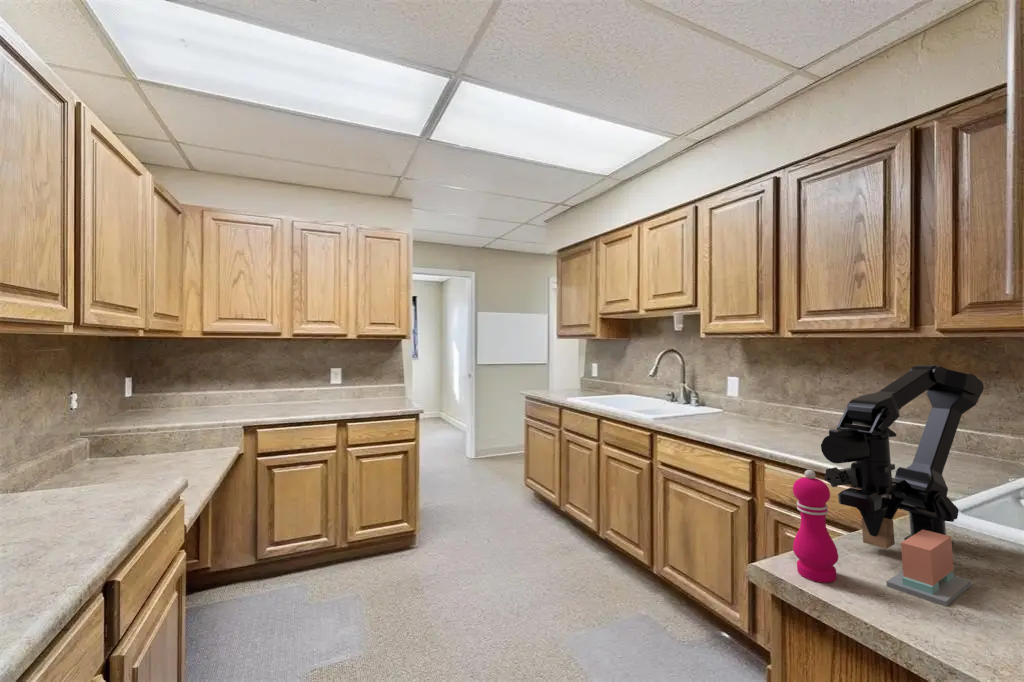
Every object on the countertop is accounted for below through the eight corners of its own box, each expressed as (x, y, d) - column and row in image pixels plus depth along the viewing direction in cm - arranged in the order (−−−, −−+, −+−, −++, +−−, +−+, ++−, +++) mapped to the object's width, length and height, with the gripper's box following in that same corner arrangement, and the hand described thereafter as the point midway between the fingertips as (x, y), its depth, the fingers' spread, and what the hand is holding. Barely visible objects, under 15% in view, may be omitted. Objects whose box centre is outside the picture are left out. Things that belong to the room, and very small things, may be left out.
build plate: (913, 567, 86) (912, 557, 86) (971, 585, 79) (970, 573, 79) (886, 586, 80) (886, 574, 80) (946, 606, 73) (945, 594, 73)
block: (871, 537, 96) (870, 514, 96) (894, 544, 93) (893, 519, 93) (863, 542, 94) (861, 518, 94) (886, 549, 91) (884, 524, 91)
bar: (925, 561, 84) (922, 529, 85) (953, 569, 81) (951, 536, 81) (903, 576, 79) (900, 542, 80) (932, 586, 76) (930, 550, 76)
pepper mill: (796, 579, 84) (789, 473, 84) (792, 563, 90) (786, 464, 91) (843, 587, 80) (835, 476, 81) (836, 569, 87) (829, 466, 87)
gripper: (849, 446, 106) (854, 513, 105) (808, 458, 96) (813, 531, 96) (909, 454, 96) (914, 527, 95) (870, 468, 87) (876, 549, 86)
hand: (878, 533), depth 93 cm, fingers closed on block, 4 cm apart
